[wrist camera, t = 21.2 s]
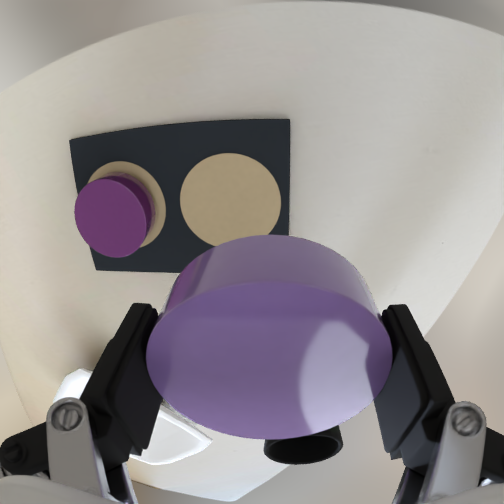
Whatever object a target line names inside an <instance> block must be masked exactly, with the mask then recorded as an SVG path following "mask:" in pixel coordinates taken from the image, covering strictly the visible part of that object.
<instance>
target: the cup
mask: <svg viewBox="0 0 504 504" xmlns="http://www.w3.org/2000/svg"><path fill="white" fill-rule="evenodd" d="M342 447H343V441H342V437H341V433H340V430H339V425H337V426H335V427H332V428H330V429H327V430H324V431H321V432H318V433H315V434H311V435H306V436H301V437H295V438H287V439H265V444H264V454H265V455H266V456H267V457H268V458H269V459H271V460H273V461H276V462H279V463H284V464H295V465H297V464H310V463H315V462H319V461H323V460H326V459H328V458H330V457H332V456H334V455H336V454H337V453H338V452H339V451H340V450H341V449H342Z"/></svg>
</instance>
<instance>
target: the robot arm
mask: <svg viewBox="0 0 504 504" xmlns="http://www.w3.org/2000/svg"><path fill="white" fill-rule="evenodd" d="M157 318H158V313H157V310H156V309H155V308H152V306H151V305H150V304H145V303H133V304H132V306H131V307H130V309H129V311H128V313H127V314H126V316H125V318H124V320H123V321H122V323H121V325H120V327H119V329H118V330H117V332H116V334H115V336H114V338H113V339H111V340H110V341H109V343H108V344H107V346H106V348H105V350H104V352H103V353H102V355H101V357H100V359H99V361H98V363H97V365H96V367H95V369H94V370H93V372H92V374H91V376H90V378H89V380H88V382H87V384H86V386H85V388H84V390H83V392H82V394H81V396H80V398H79V399H78V398H74V397H65V398H62V399H59V400H58V401H56V402H55V403H54V404H53V405H52V406H51V407H50V408H49V410H48V413H47V418H46V422H44V423H42V424H39V425H37V426H35V427H32V428H30V429H28V430H26V431H23V432H20V433H18V434H16V435H13V436H11V437H9V438H7V439H6V440H5V441H4V442H3V443H2V445H1V447H0V504H138V502H137V498H136V495H135V492H134V489H133V486H132V483H131V479H130V476H129V472H128V469H127V465H126V461H128V459H129V456H130V454H132V455H137V456H141V455H142V451H143V449H144V450H146V449H147V448H148V446H149V443H150V439H151V436H152V433H153V429H154V426H155V422H156V419H157V415H158V412H159V409H160V405H161V402H162V399H163V397H162V396H161V395H160V394H159V392H158V391H157V389H156V388H155V387H154V385H153V383H152V381H151V378H150V376H149V373H148V370H147V364H146V348H147V343H148V340H149V337H150V334H151V332H152V330H153V327H154V325H155V323H156V321H157ZM381 318H382V320H383V322H384V325H385V327H386V330H387V332H388V335H389V337H390V341H391V345H392V351H393V361H392V368H391V371H390V373H389V376H388V378H387V380H386V383H385V385H384V387H383V389H382V390H381V392H380V393H379V394H378V396H377V397H376V398H375V399H374V404H375V408H376V412H377V416H378V421H379V425H380V430H381V435H382V439H383V444H384V449H385V451H386V452H387V453H390V455H391V460H393V459H398V458H402V459H403V463H404V465H405V466H406V467H405V470H404V473H403V476H402V479H401V482H400V484H399V487H398V489H397V492H396V494H395V497H394V499H393V502H392V504H504V435H502V434H499V433H498V432H495V431H494V430H492V429H490V428H488V427H486V417H485V415H484V412H483V411H482V410H481V408H480V407H478V406H477V405H476V404H473V403H471V402H467V401H462V402H457V403H456V402H455V401H454V398H453V396H452V393H451V391H450V388H449V386H448V384H447V381H446V379H445V377H444V375H443V373H442V370H441V368H440V366H439V364H438V362H437V360H436V357H435V356H434V353H433V351H432V349H431V347H430V345H429V344H428V342H426V341H425V340H424V338H423V336H422V334H421V332H420V330H419V328H418V326H417V324H416V322H415V320H414V318H413V316H412V314H411V312H410V311H409V309H408V307H407V305H405V304H399V305H389V306H388V308H387V309H386V310H383V312H382V316H381Z"/></svg>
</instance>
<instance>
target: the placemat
mask: <svg viewBox="0 0 504 504" xmlns="http://www.w3.org/2000/svg"><path fill="white" fill-rule="evenodd" d="M69 143H70V151H71V158H72V164H73V171H74V177H75V182H76V188H77V193H78V195H79V193H80V191H81V190H82V189H83V188H84V186H86V185H87V184H88V183H90V182H92V181H93V180H95V179H97V178H99V177H100V176H102V175H104V174H107V173H110V172H123V173H127V174H129V175H132V176H133V177H135V178H137V179H138V180H139V181H140V182H141V183H143V184H144V186H145V187H146V188H147V189H148V191H149V193H150V194H151V196H152V199H153V202H154V205H155V212H156V217H155V224H154V227H153V229H152V231H151V233H150V234H149V236H148V237H147V238H146V240H145V241H144V242H143V243H142V245H141V246H140V247H139V248H138V249H137V250H136V251H135V252H134V253H132V254H130V255H128V256H125V257H118V258H115V257H109V256H105V255H103V254H101V253H99V252H97V251H95V250H94V249H93V248H92V247H90V250H91V253H92V257H93V261H94V264H95V268H96V270H102V271H131V272H167V273H181V272H182V271H183V270H184V268H185V267H186V266H187V265H188V264H190V263H191V262H192V261H193V260H194V259H195V258H197V257H198V256H200V255H201V254H203V253H204V252H206V251H207V250H209V249H211V248H213V247H216V246H218V245H220V244H222V243H225V242H228V241H231V240H235V239H238V238H243V237H249V236H255V235H286V236H288V232H289V191H290V119H242V120H218V121H201V122H188V123H177V124H167V125H158V126H149V127H142V128H134V129H127V130H121V131H114V132H108V133H102V134H97V135H92V136H86V137H81V138H76V139H72V140H69Z"/></svg>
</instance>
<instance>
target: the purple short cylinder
mask: <svg viewBox="0 0 504 504" xmlns="http://www.w3.org/2000/svg"><path fill="white" fill-rule="evenodd" d="M74 213H75V221H76V225H77V228H78V230H79V232H80V234H81V236H82V237H83V239H84V240H85V241H86V243H87V244H88V245H89V246H90V247H92V248H93V249H94V250H95V251H97V252H99V253H101V254H103V255H105V256H109V257H115V258H118V257H125V256H128V255H130V254H132V253H134V252H135V251H136V250H137V249H138V248H139V247H140V246H141V245H142V243H143V242H144V241H145V240H146V238H147V237H148V236H149V234H150V233H151V231H152V229H153V227H154V224H155V217H156V212H155V205H154V202H153V199H152V196H151V194H150V193H149V191H148V189H147V188H146V187H145V186H144V184H143V183H141V182H140V181H139V180H138V179H137V178H135V177H133V176H132V175H129V174H127V173H123V172H110V173H107V174H104V175H102V176H100V177H99V178H97V179H95V180H93V181H92V182H90V183H88V184H87V185H86V186H84V188H83V189H82V190H81V191H80V193H79V195H78V197H77V199H76V203H75V211H74Z"/></svg>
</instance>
